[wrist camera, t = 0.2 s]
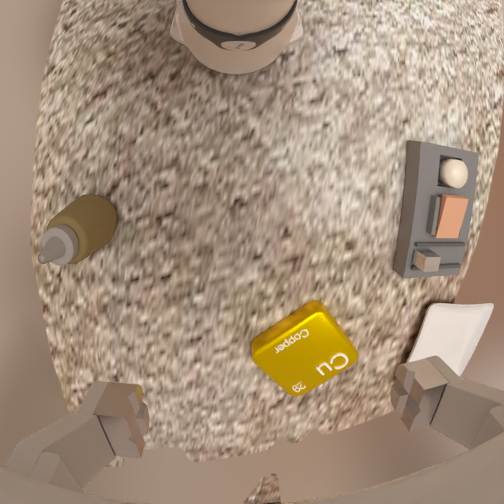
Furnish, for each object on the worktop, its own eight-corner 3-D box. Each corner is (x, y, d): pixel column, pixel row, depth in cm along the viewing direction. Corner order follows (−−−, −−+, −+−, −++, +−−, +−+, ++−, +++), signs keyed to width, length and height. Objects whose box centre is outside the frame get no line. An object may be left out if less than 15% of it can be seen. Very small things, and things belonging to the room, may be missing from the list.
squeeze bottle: (111, 249, 47) (62, 305, 30) (71, 224, 45) (9, 269, 28) (132, 205, 45) (82, 246, 28) (89, 180, 43) (23, 208, 26)
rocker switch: (442, 194, 42) (446, 197, 41) (464, 196, 42) (468, 199, 41) (432, 234, 45) (435, 238, 44) (453, 234, 45) (457, 238, 44)
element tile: (316, 294, 53) (324, 308, 48) (354, 345, 58) (363, 360, 53) (245, 341, 55) (247, 358, 51) (291, 385, 60) (295, 402, 56)
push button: (438, 156, 42) (449, 158, 39) (457, 159, 42) (469, 162, 39) (436, 183, 43) (446, 187, 41) (455, 185, 44) (466, 189, 41)
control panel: (407, 140, 44) (426, 142, 39) (464, 150, 45) (484, 154, 40) (392, 268, 52) (407, 282, 46) (447, 265, 53) (464, 278, 47)
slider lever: (414, 248, 46) (426, 257, 43) (429, 248, 46) (441, 256, 43) (412, 262, 47) (423, 272, 43) (426, 262, 47) (437, 271, 44)
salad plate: (488, 297, 57) (496, 304, 54) (454, 370, 64) (460, 378, 61) (423, 295, 55) (431, 303, 52) (388, 378, 62) (394, 388, 59)
